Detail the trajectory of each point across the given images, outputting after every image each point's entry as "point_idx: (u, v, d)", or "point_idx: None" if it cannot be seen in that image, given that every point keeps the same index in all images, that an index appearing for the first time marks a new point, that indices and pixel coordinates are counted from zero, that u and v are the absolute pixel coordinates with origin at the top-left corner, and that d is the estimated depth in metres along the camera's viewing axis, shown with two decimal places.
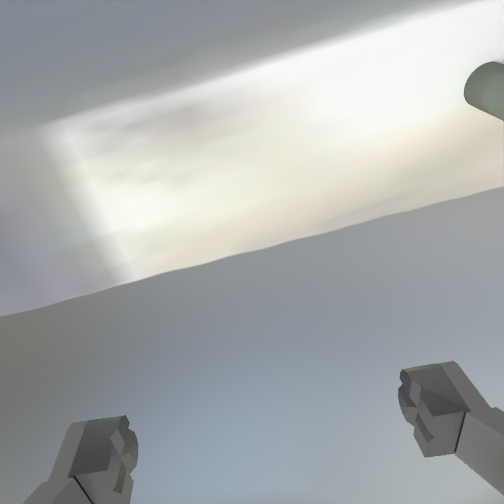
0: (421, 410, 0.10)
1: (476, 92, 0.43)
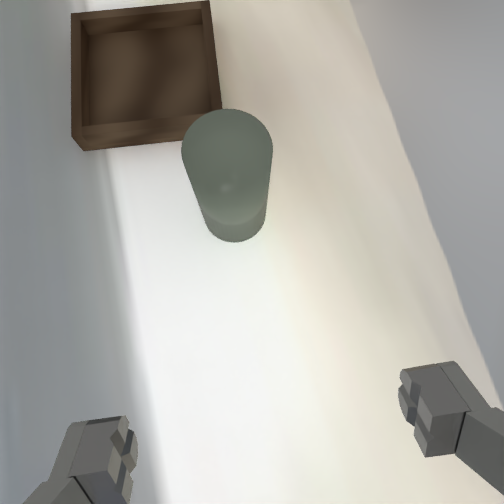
0: (421, 410, 0.10)
1: (235, 233, 0.27)
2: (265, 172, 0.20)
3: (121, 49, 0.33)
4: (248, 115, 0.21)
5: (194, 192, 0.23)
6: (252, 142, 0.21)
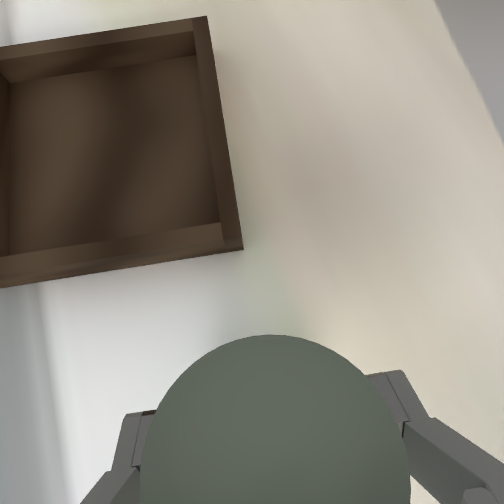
0: None
1: None
2: None
3: (64, 105, 0.20)
4: (327, 353, 0.07)
5: None
6: (346, 446, 0.07)
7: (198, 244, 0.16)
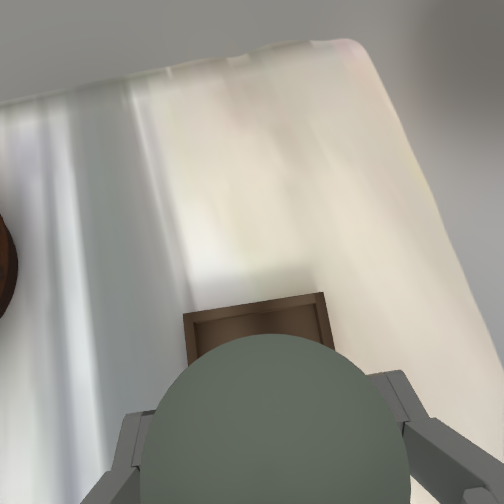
0: None
1: None
2: None
3: None
4: (327, 352, 0.07)
5: None
6: (346, 445, 0.07)
7: None
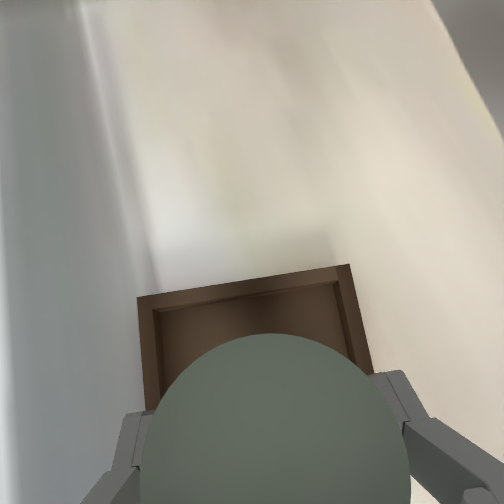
0: None
1: None
2: None
3: (212, 336, 0.22)
4: (327, 351, 0.07)
5: None
6: (347, 445, 0.07)
7: None
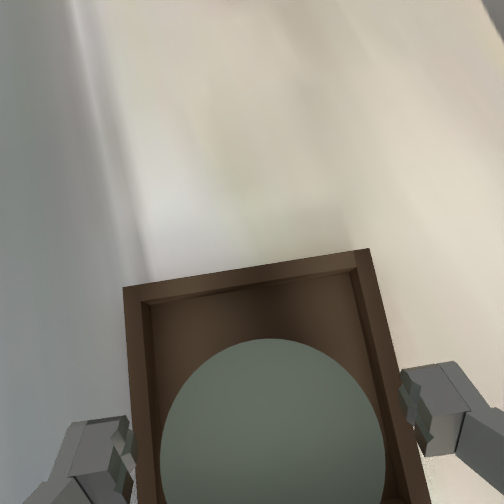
0: (421, 410, 0.10)
1: None
2: None
3: (211, 333, 0.19)
4: (317, 354, 0.09)
5: None
6: (333, 432, 0.08)
7: None
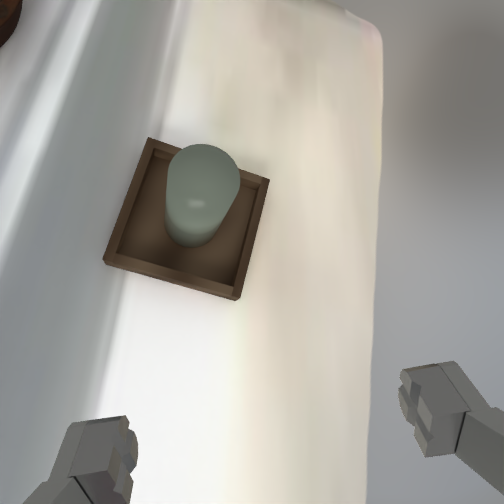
0: (420, 410, 0.10)
1: (184, 238, 0.32)
2: (225, 207, 0.26)
3: None
4: (231, 159, 0.27)
5: (166, 195, 0.28)
6: (225, 180, 0.26)
7: (218, 292, 0.33)
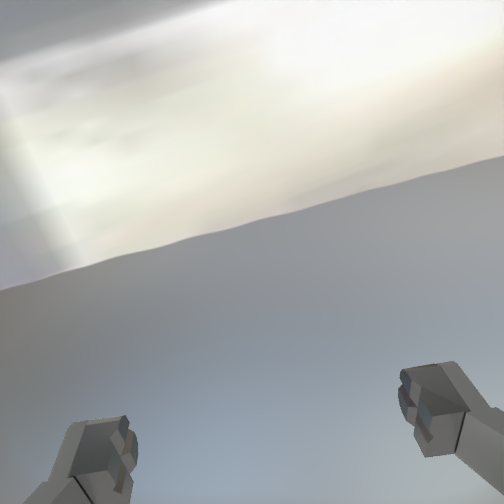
0: (421, 411, 0.10)
1: None
2: None
3: None
4: None
5: None
6: None
7: None
